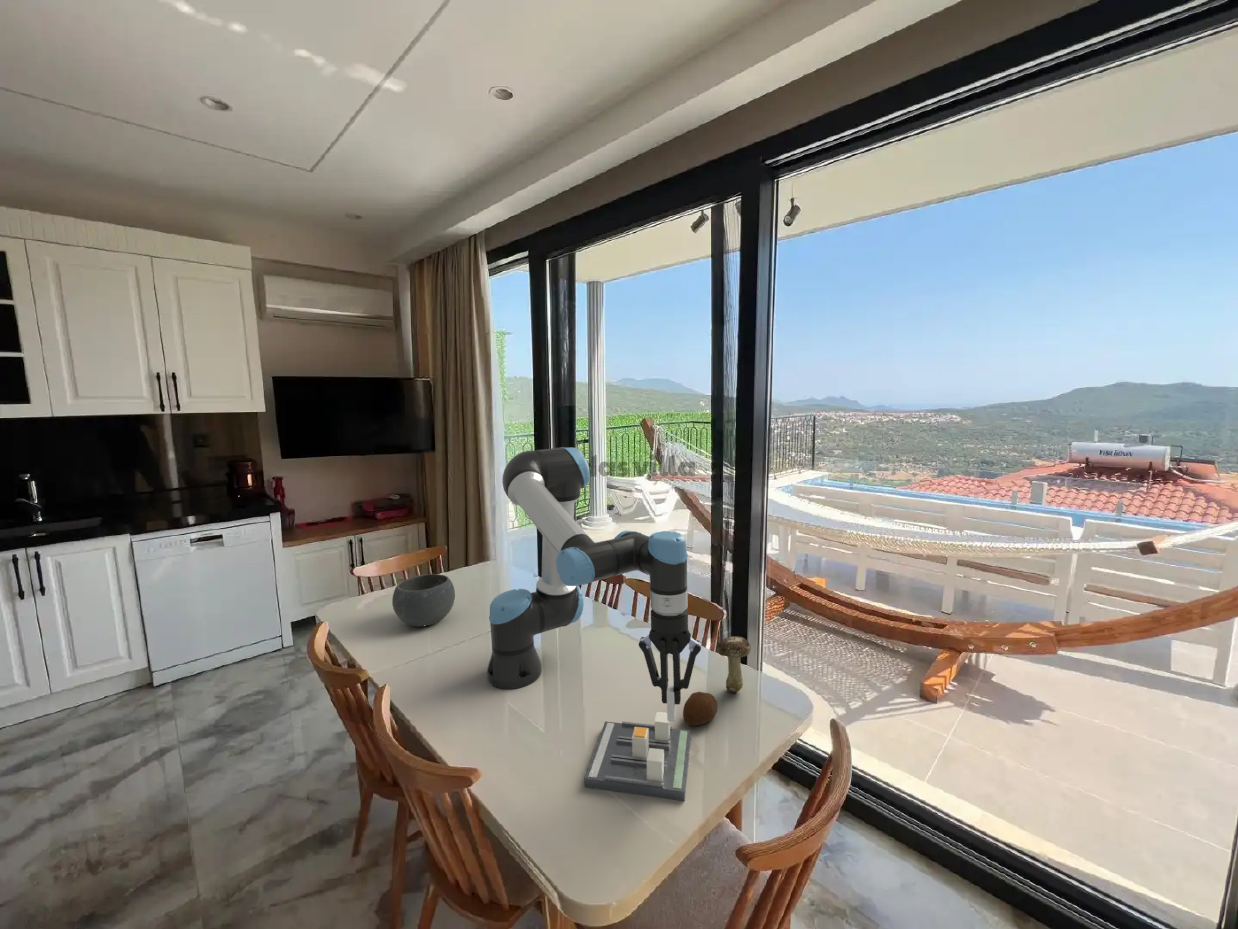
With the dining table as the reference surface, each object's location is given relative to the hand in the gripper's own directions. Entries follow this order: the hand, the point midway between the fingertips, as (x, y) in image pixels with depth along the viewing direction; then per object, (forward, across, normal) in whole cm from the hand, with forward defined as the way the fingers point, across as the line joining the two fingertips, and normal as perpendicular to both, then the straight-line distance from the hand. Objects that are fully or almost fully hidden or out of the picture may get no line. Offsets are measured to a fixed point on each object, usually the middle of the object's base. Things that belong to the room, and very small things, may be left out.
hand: (671, 717), depth 105 cm
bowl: (+10, -93, +55) cm, 109 cm away
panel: (+11, -7, 0) cm, 13 cm away
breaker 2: (+9, -3, -6) cm, 11 cm away
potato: (+12, +5, +17) cm, 21 cm away
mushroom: (+11, +13, +29) cm, 34 cm away
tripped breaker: (+9, -7, 0) cm, 11 cm away
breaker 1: (+9, -3, +6) cm, 11 cm away
